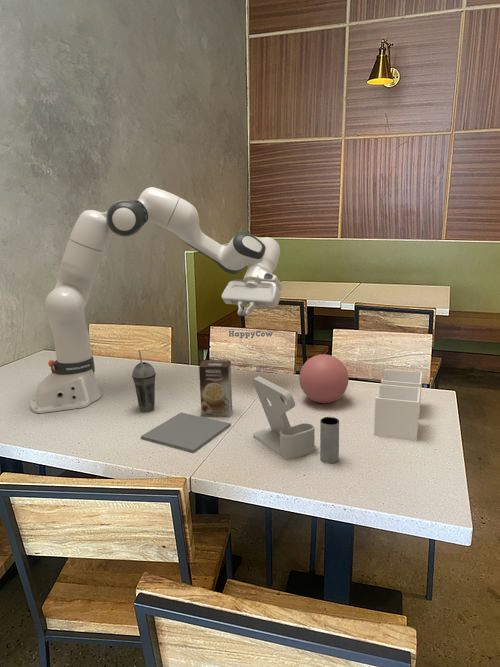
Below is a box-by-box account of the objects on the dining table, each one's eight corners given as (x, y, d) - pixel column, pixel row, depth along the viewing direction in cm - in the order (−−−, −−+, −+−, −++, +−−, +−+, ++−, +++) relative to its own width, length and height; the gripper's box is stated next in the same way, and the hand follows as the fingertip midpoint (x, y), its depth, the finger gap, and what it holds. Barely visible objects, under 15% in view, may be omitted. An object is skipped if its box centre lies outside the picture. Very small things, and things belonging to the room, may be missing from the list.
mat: (181, 414, 151) (180, 412, 151) (230, 425, 142) (230, 423, 142) (141, 438, 136) (140, 436, 136) (193, 452, 127) (193, 450, 127)
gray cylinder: (318, 455, 124) (318, 417, 121) (336, 453, 124) (336, 416, 122) (322, 464, 119) (322, 425, 117) (340, 462, 120) (341, 423, 117)
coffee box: (200, 416, 149) (197, 366, 145) (204, 408, 155) (201, 359, 151) (230, 417, 148) (228, 366, 144) (233, 408, 154) (231, 359, 150)
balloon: (360, 393, 163) (361, 348, 160) (335, 414, 147) (336, 365, 144) (318, 385, 172) (319, 343, 168) (290, 404, 156) (290, 358, 152)
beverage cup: (163, 407, 157) (158, 347, 152) (149, 415, 151) (144, 353, 146) (144, 403, 160) (139, 345, 155) (130, 412, 154) (124, 351, 149)
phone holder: (319, 450, 126) (319, 384, 122) (287, 462, 121) (286, 393, 117) (281, 426, 140) (279, 367, 136) (250, 435, 136) (248, 374, 131)
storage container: (416, 441, 130) (418, 402, 127) (374, 435, 134) (375, 398, 131) (420, 405, 152) (422, 372, 150) (383, 401, 156) (385, 369, 154)
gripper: (226, 273, 168) (212, 307, 162) (280, 276, 158) (266, 311, 152) (234, 284, 173) (220, 317, 167) (286, 287, 162) (273, 322, 157)
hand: (242, 314), depth 159 cm, fingers closed
